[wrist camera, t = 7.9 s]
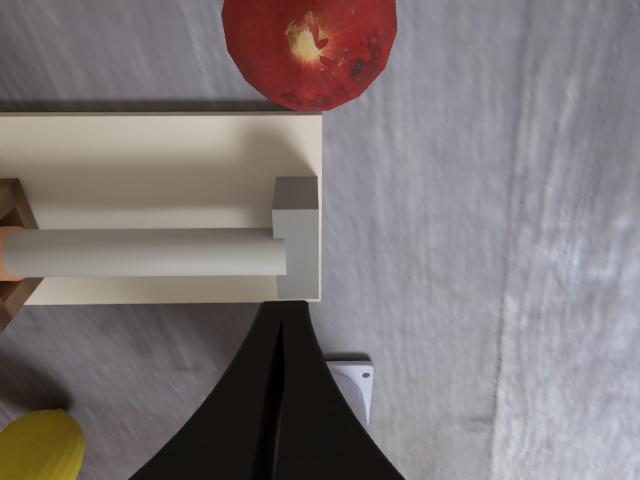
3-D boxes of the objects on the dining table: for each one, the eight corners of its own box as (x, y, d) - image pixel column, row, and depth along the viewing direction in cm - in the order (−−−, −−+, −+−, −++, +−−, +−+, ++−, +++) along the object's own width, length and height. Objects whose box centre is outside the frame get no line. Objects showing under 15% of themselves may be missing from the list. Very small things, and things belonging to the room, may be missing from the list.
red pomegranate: (410, -2, 18) (469, 32, 12) (319, 107, 21) (324, 188, 14) (297, -120, 16) (289, -159, 10) (210, 18, 19) (155, 63, 12)
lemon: (36, 433, 34) (-31, 554, 27) (7, 385, 31) (-76, 508, 24) (110, 432, 34) (61, 552, 27) (89, 383, 31) (29, 506, 24)
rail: (321, 111, 21) (324, 149, 17) (320, 294, 27) (322, 353, 23) (-213, 113, 20) (-332, 153, 17) (-90, 299, 26) (-157, 359, 23)
